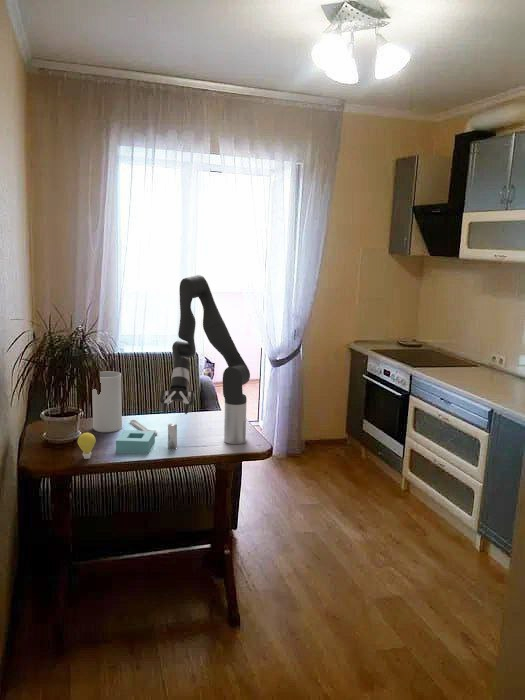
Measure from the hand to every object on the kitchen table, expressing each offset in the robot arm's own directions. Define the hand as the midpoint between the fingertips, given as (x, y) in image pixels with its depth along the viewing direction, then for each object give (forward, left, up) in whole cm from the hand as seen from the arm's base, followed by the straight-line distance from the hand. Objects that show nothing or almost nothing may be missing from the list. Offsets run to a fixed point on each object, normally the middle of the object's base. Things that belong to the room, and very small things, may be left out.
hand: (175, 412), depth 237 cm
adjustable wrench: (+17, -15, -13) cm, 26 cm away
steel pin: (0, +8, -13) cm, 15 cm away
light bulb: (+31, +21, -13) cm, 40 cm away
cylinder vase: (+33, -15, -13) cm, 38 cm away
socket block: (+15, +8, -13) cm, 21 cm away
